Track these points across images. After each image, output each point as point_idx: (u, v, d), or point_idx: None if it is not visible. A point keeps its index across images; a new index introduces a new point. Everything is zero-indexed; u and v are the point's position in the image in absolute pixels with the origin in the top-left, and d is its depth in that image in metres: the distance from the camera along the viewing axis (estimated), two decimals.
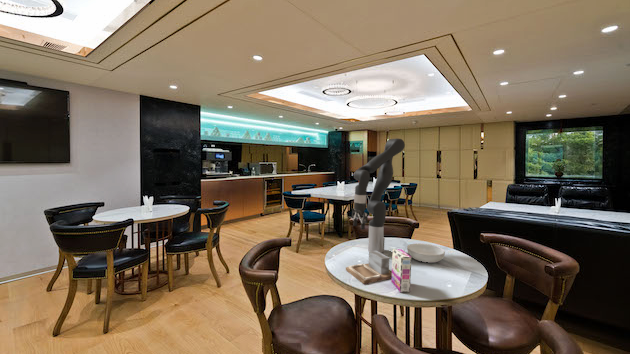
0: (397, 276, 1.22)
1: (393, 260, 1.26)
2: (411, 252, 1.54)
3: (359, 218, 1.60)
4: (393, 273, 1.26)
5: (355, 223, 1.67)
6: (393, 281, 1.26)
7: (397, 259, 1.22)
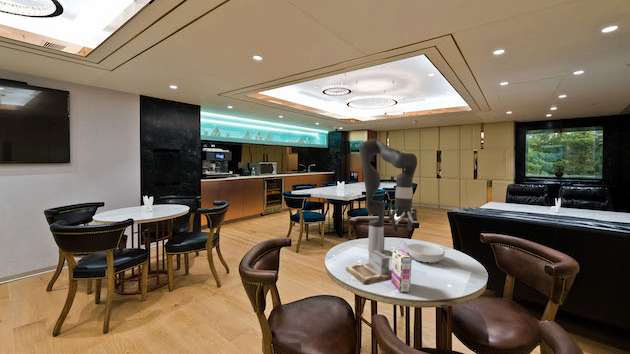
0: (397, 276, 1.22)
1: (393, 260, 1.26)
2: (411, 252, 1.54)
3: (410, 217, 1.21)
4: (393, 273, 1.26)
5: None
6: (393, 281, 1.26)
7: (397, 259, 1.22)
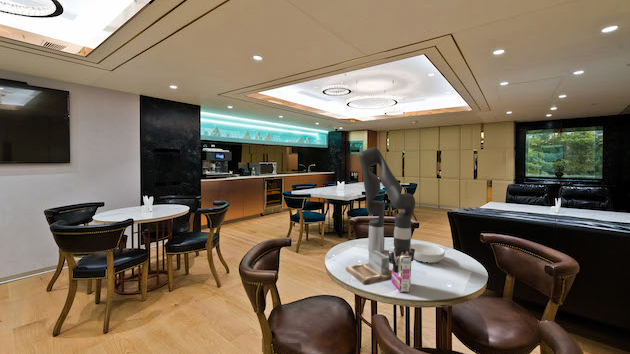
0: (397, 276, 1.22)
1: None
2: None
3: None
4: (393, 273, 1.26)
5: None
6: (393, 281, 1.26)
7: None
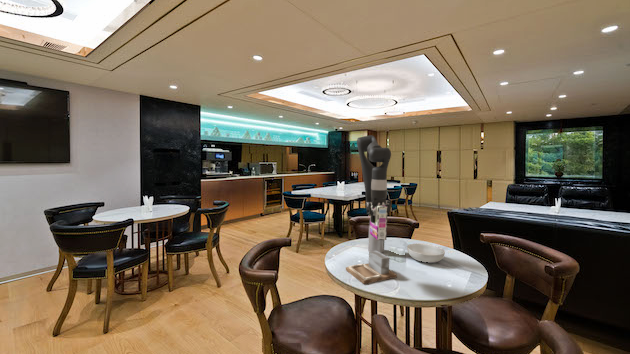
0: (374, 226, 1.28)
1: None
2: (411, 252, 1.54)
3: None
4: (371, 225, 1.33)
5: None
6: (371, 232, 1.33)
7: None
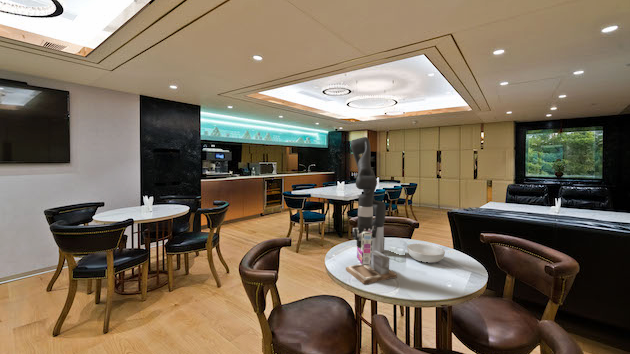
0: (360, 251, 1.33)
1: None
2: (411, 252, 1.54)
3: None
4: (358, 249, 1.38)
5: None
6: (358, 256, 1.38)
7: None
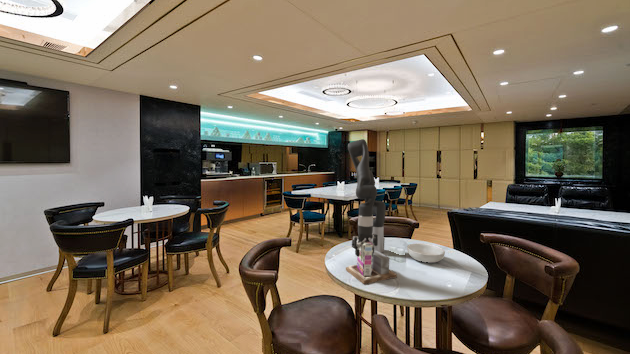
0: (361, 262, 1.34)
1: None
2: (411, 252, 1.54)
3: None
4: (358, 260, 1.38)
5: None
6: (358, 267, 1.38)
7: (361, 246, 1.34)
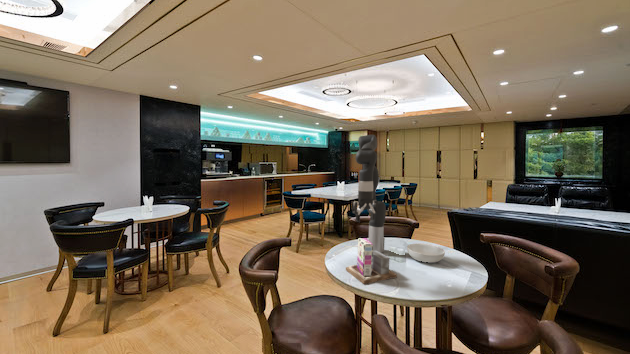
0: (361, 262, 1.34)
1: (358, 248, 1.38)
2: (411, 252, 1.54)
3: (371, 208, 1.34)
4: (358, 260, 1.38)
5: None
6: (358, 267, 1.38)
7: (361, 246, 1.34)
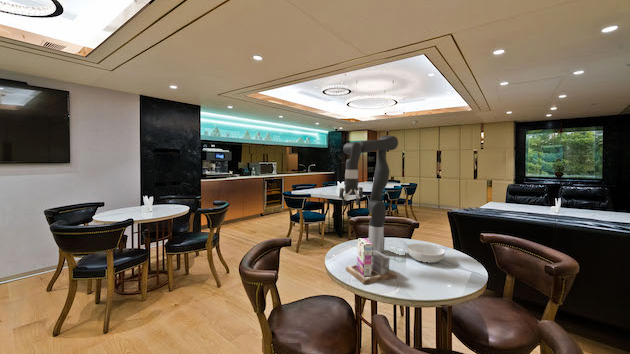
0: (361, 262, 1.34)
1: (358, 248, 1.38)
2: (411, 252, 1.54)
3: (356, 194, 1.50)
4: (358, 260, 1.38)
5: None
6: (358, 267, 1.38)
7: (361, 246, 1.34)
